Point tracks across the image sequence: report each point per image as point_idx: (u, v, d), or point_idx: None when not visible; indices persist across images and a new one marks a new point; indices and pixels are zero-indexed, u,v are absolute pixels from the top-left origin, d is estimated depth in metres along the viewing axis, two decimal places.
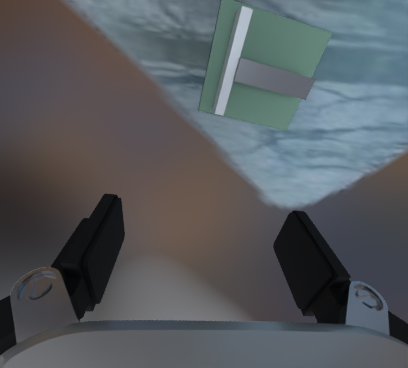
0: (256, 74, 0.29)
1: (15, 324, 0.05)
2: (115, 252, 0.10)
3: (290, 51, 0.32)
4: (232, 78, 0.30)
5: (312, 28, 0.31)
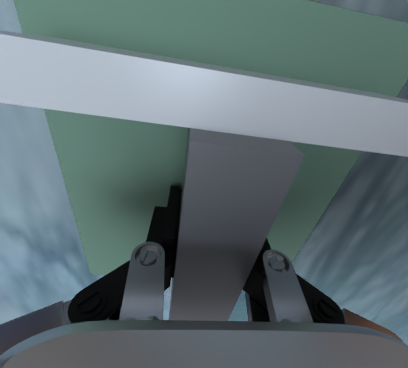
0: (227, 231, 0.07)
1: (127, 277, 0.07)
2: None
3: None
4: (198, 122, 0.06)
5: (292, 257, 0.16)
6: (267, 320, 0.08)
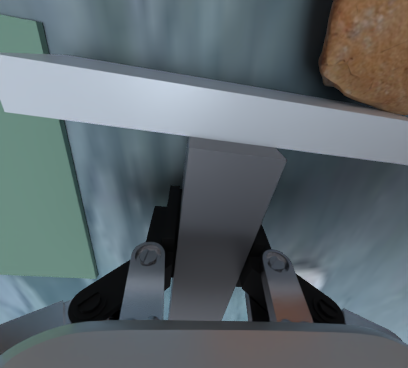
0: (222, 227, 0.07)
1: (127, 277, 0.07)
2: None
3: (31, 234, 0.14)
4: (196, 131, 0.06)
5: (87, 254, 0.16)
6: (267, 320, 0.08)
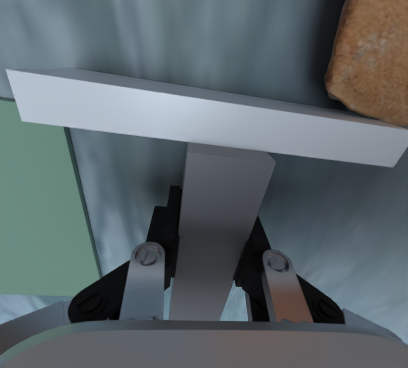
0: (219, 225, 0.08)
1: (127, 277, 0.07)
2: None
3: (47, 261, 0.16)
4: (194, 137, 0.07)
5: (96, 277, 0.18)
6: (267, 320, 0.08)
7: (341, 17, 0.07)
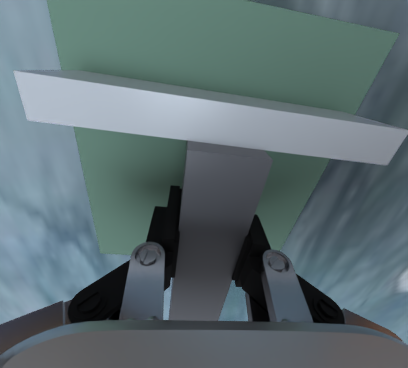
0: (218, 222, 0.08)
1: (127, 277, 0.07)
2: None
3: None
4: (193, 136, 0.07)
5: (283, 239, 0.17)
6: (267, 320, 0.08)
7: None
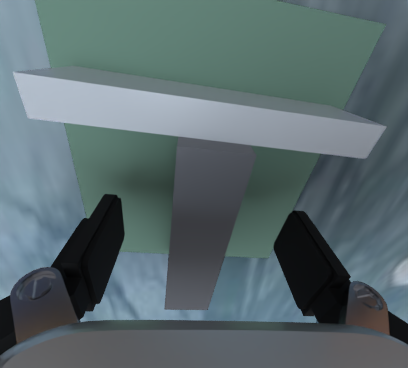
0: (207, 211, 0.09)
1: (15, 324, 0.05)
2: (115, 252, 0.10)
3: (245, 214, 0.16)
4: (183, 132, 0.08)
5: (278, 233, 0.17)
6: None
7: None
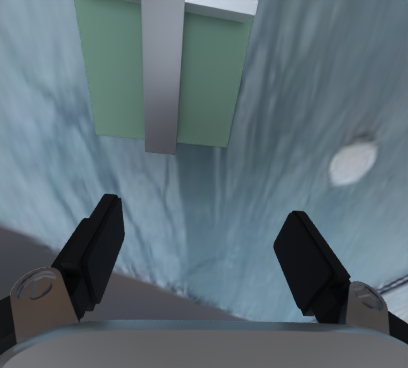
0: (163, 46, 0.15)
1: (15, 324, 0.05)
2: (115, 252, 0.10)
3: (203, 100, 0.22)
4: None
5: (230, 120, 0.24)
6: None
7: None
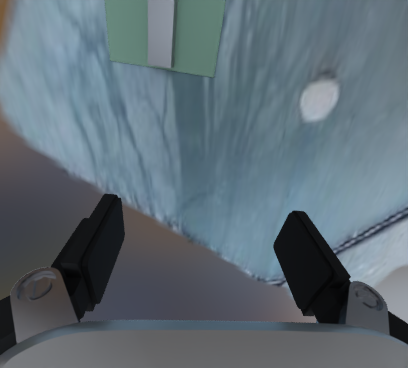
0: None
1: (15, 324, 0.05)
2: (115, 252, 0.10)
3: (194, 32, 0.29)
4: None
5: (216, 52, 0.30)
6: None
7: None
